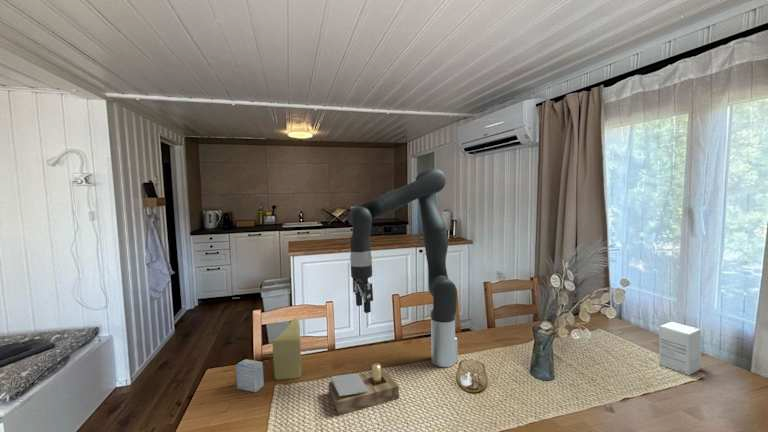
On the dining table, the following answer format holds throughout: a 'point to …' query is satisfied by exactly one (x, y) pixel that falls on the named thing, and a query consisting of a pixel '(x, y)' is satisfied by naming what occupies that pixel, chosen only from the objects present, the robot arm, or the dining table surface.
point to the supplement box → (680, 347)
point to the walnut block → (365, 394)
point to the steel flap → (349, 384)
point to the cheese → (287, 352)
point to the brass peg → (376, 374)
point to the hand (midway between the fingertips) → (363, 308)
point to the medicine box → (249, 375)
